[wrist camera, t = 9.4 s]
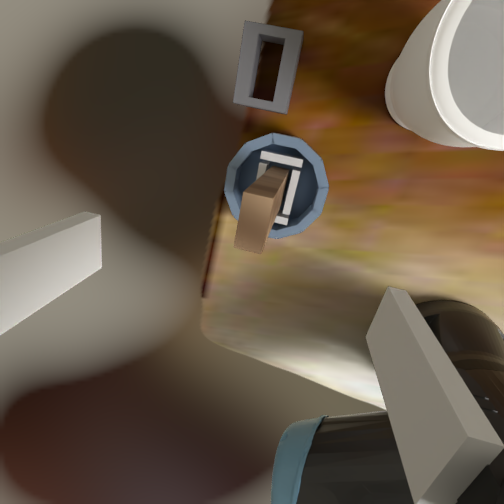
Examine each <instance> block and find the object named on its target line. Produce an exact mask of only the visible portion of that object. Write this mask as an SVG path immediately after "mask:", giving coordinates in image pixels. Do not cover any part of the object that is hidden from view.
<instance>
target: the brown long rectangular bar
mask: <svg viewBox="0 0 504 504" xmlns="http://www.w3.org/2000/svg"><path fill="white" fill-rule="evenodd" d="M289 170H290V169H286V168H282V167H277V166H272V167H271V168H269V169H268V170H267V171H266V172H265V173H264V174H263V175H262V176H260V177H259V178H258V179H257V180H256V181H255V182H254V183H253V184H251V185H250V186H249V187H248V188H247V189H246V190H245V191H244V192H243V196H242V202H241V208H240V213H239V219H238V225H237V231H236V236H235V242H234V248H238V249H242V250H246V251H250V252H254V253H258V254H261V253H262V251H263V248H264V246H265V243H266V241H267V238H268V236H269V233H270V231H271V228H272V226H273V224H274V221H275V219H276V216H277V214H278V211H279V209H280V206H281V204H282V200H283V196H284V192H285V187H286V183H287V179H288V174H289Z"/></svg>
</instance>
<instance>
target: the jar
mask: <svg viewBox="0 0 504 504" xmlns="http://www.w3.org/2000/svg"><path fill="white" fill-rule="evenodd" d="M385 101H386V105H387V109H388V111H389V113H390V115H391V116H392V118H393V119H394V120H395V121H396V122H397V123H398V124H399V125H401V126H402V127H404V128H406V129H408V130H411V131H413V132H415V133H416V134H417V135H419V136H421V137H423V138H425V139H427V140H429V141H432V142H434V143H438V144H442V145H446V146H454V147H479V148H483V149H489V150H500V151H504V0H441V1H440V2H439V3H438V4H437V5H436V6H435V7H434V8H433V9H432V10H431V11H430V12H429V13H428V14H427V15H426V16H425V17H424V19H423V20H422V21H421V22H420V23H419V25H418V26H417V27H416V29H415V30H414V32H413V33H412V34H411V36H410V38H409V39H408V41H407V43H406V44H405V46H404V48H403V50H402V52H401V54H400V56H399V57H398V59H397V60H396V61H395V63H394V64H393V66H392V68H391V70H390V72H389V75H388V78H387V81H386V86H385Z"/></svg>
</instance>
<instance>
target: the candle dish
mask: <svg viewBox="0 0 504 504" xmlns="http://www.w3.org/2000/svg"><path fill="white" fill-rule="evenodd" d="M272 166H277V167H282V168H286V169H290V170H289V174H288V179H287V183H286V187H285V192H284V196H283V200H282V204H281V206H280V209H279V211H278V214H277V216H276V219H275V221H274V224H273V226H272V228H271V231H270V233H269V236H268V237H270V238H274V239H276V238H277V239H279V238H283V237H287V236H290V235H294V234H298V233H301V231H302V232H303V231H304V230H305V229H306V228H307V227H308V226H309V225H310V224H311V223H312V222H313V221H314V220H315V219H316V218H318V217H319V216H320V215H321V214H320V213H322V209H323V206H324V203H325V199H326V196H327V193H328V190H329V185H328V181H327V177H326V173H325V169H324V165H323V161H322V159H321V157H320V156H319V155H318V154H317V153H316V152H315V151H314V150H313V149H312V148H311V147H310V146H309V145H308V144H307V143H306V142H305V141H304V140H303V139H301V138H299V137H294V136H290V135H285V134H280V133H270V134H268V135H265V136H262V137H260V138H257V139H254V140H252V141H249V142H246V143H245V144H244V145H243V146H242V148H241V149H240V150H239V152H238V153H237V154H236V155H235V157H234V158H233V159H232V160H231V162H230V163H229V165H228V168H227V175H226V181H225V188H224V191H225V192H224V193H225V196H226V199H227V201H228V204H229V207H230V209H231V212H232V215H234V218H236V219H237V220H238V219H239V213H240V208H241V202H242V196H243V192H244V191H245V190H246V189H247V188H248V187H249V186H250V185H251V184H253V183H254V182H255V181H256V180H257V179H258V178H259V177H260V176H262V175H263V174H264V173H265V172H266V171H267V170H268V169H269V168H271V167H272Z"/></svg>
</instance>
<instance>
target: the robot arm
mask: <svg viewBox="0 0 504 504" xmlns="http://www.w3.org/2000/svg"><path fill="white" fill-rule="evenodd" d="M100 268H102V250H101V216H100V215H98V214H93V213H89V212H86V211H85V212H82V213H80V214H77V215H74V216H71V217H68V218H66V219H63V220H60V221H57V222H55V223H52V224H49V225H47V226H44V227H41V228H38V229H35V230H32V231H30V232H27V233H24V234H21V235H19V236H16V237H13V238H10V239H8V240H5V241H2V242H0V335H2V334H3V333H4V332H6V331H8V330H9V329H11V328H12V327H14V326H15V325H17V324H18V323H20V322H21V321H22V320H24V319H26V318H27V317H28V316H30V315H32V314H33V313H35V312H36V311H38V310H39V309H41V308H42V307H44V306H45V305H47V304H48V303H50V302H51V301H53V300H54V299H56V298H57V297H58V296H60V295H62V294H63V293H65V292H66V291H68V290H69V289H71V288H72V287H74V286H75V285H76V284H78V283H80V282H81V281H83V280H84V279H86V278H87V277H89V276H90V275H92V274H93V273H94V272H96V271H97V270H99V269H100ZM366 340H367V344H368V347H369V351H370V354H371V358H372V361H373V364H374V368H375V371H376V375H377V378H378V382H379V385H380V388H381V392H382V395H383V399H384V402H385V406H386V409H387V411H380V412H371V413H362V414H353V415H344V416H335V417H329V416H327V415H322V416H320V417H319V418H314V419H308V420H302V421H297V422H294V423H293V424H291V425H290V426H289V427H288V428H287V429H286V430H285V432H284V433H283V435H282V437H281V440H280V443H279V446H278V448H277V452H276V456H275V462H274V468H273V476H272V489H271V490H272V491H271V504H504V334H503V332H502V331H501V330H500V328H499V327H498V326H497V325H496V324H495V323H494V322H493V321H492V320H491V319H490V318H489V317H488V316H487V315H486V314H485V313H483V312H482V311H480V310H479V309H477V308H475V307H473V306H470V305H467V304H464V303H460V302H455V301H430V302H425V303H421V304H417V305H415V304H414V302H413V301H412V299H411V297H410V296H409V294H408V293H407V291H405V290H401V289H397V288H393V287H389V286H388V287H387V290H386V292H385V294H384V296H383V299H382V301H381V303H380V305H379V307H378V310H377V312H376V314H375V316H374V319H373V321H372V323H371V325H370V328H369V330H368V332H367V334H366Z"/></svg>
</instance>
